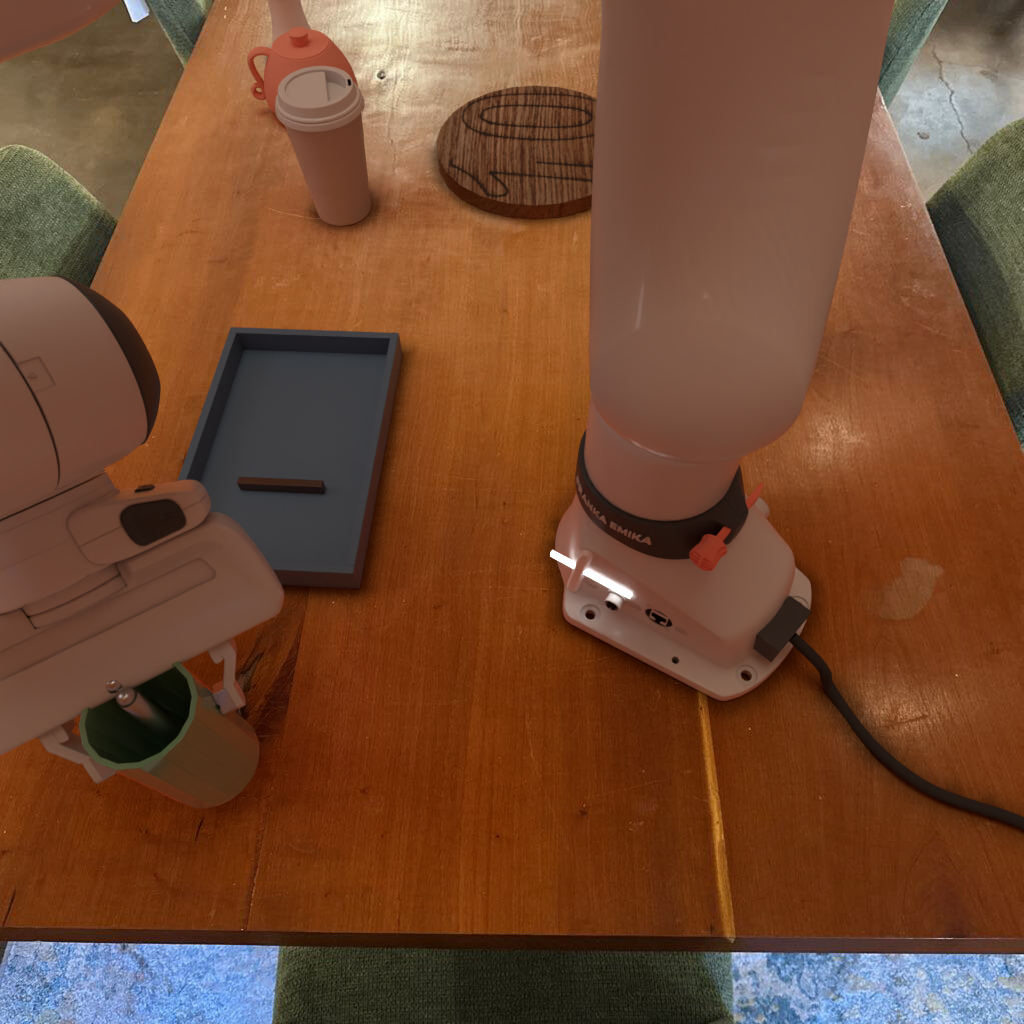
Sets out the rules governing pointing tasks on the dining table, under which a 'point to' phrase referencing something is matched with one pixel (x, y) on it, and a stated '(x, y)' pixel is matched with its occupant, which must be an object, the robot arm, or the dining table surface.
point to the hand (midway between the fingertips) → (175, 739)
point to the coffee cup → (327, 140)
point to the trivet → (521, 151)
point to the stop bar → (281, 485)
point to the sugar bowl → (294, 60)
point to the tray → (299, 444)
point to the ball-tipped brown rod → (148, 714)
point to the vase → (286, 16)
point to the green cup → (176, 743)
